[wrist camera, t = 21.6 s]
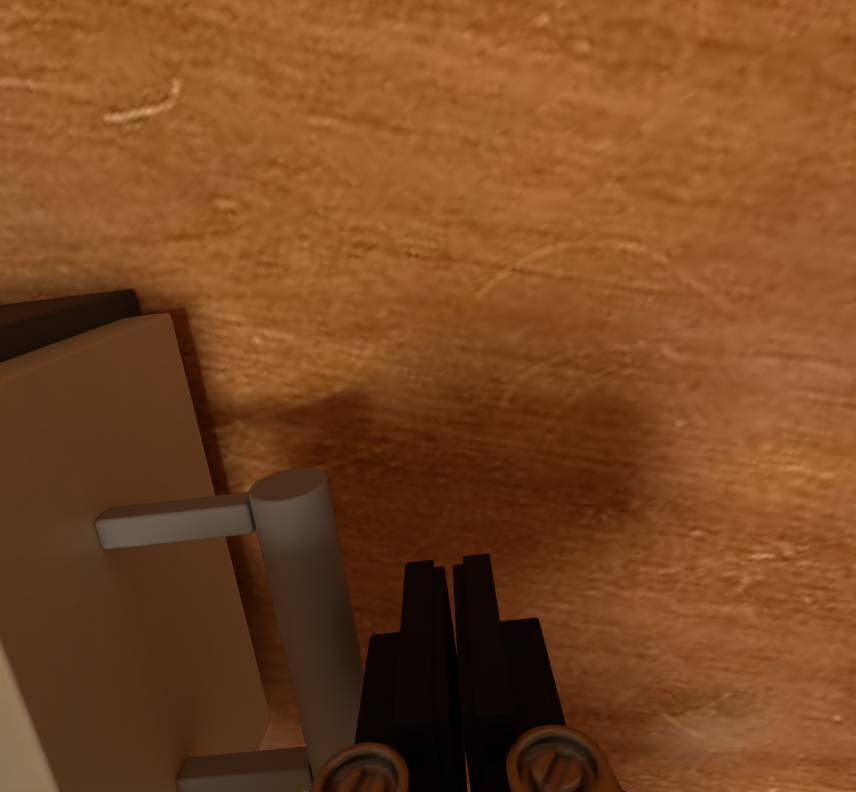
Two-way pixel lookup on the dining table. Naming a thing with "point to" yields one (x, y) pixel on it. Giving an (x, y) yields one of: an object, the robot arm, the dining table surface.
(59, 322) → the cabinet
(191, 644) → the drawer
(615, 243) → the dining table surface
